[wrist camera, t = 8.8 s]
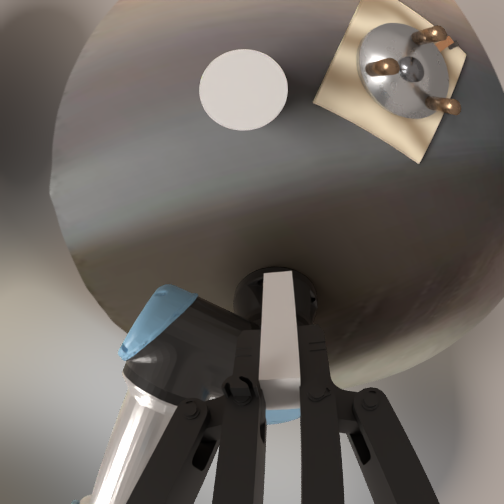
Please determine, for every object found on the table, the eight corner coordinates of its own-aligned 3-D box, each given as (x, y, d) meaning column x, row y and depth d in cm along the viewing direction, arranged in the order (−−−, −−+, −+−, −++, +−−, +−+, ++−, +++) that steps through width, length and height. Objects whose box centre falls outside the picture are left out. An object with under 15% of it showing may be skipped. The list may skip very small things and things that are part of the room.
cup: (263, 55, 29) (260, 35, 19) (292, 104, 33) (303, 107, 22) (210, 82, 31) (184, 77, 21) (239, 130, 35) (226, 145, 25)
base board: (414, 161, 35) (419, 164, 33) (312, 102, 32) (314, 102, 31) (462, 52, 23) (468, 51, 22) (368, -16, 20) (372, -19, 19)
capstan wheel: (470, 78, 24) (502, 81, 17) (398, 135, 31) (425, 147, 25) (417, 2, 19) (445, -10, 13) (334, 55, 27) (351, 45, 20)
